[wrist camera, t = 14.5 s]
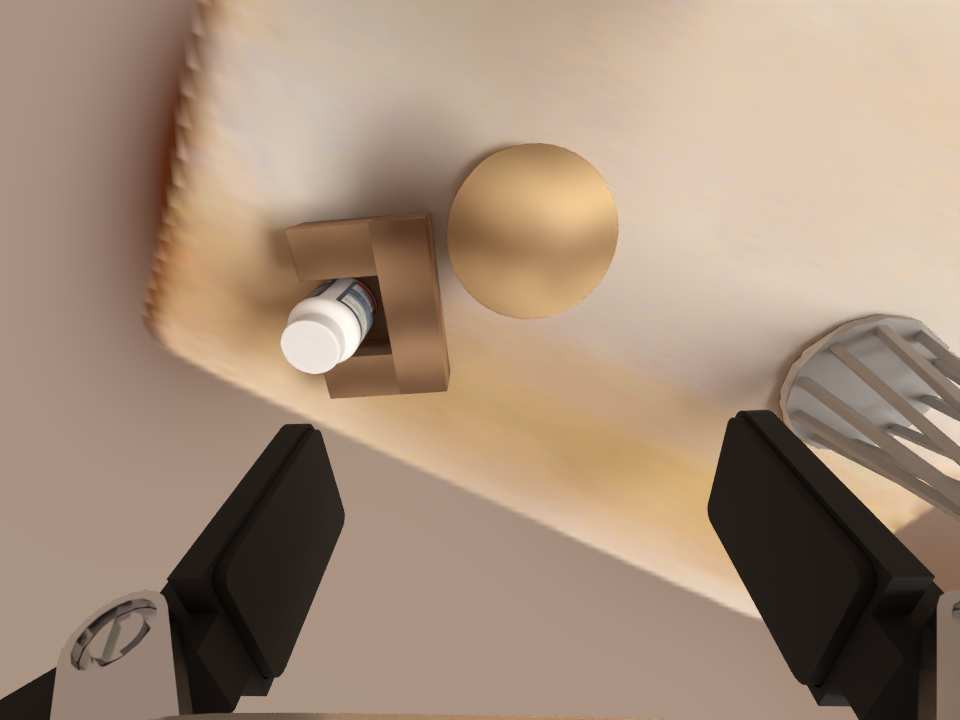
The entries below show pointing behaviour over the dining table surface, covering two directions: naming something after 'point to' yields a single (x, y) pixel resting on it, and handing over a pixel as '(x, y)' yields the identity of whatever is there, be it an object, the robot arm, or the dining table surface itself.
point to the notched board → (405, 294)
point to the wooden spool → (532, 231)
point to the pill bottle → (328, 325)
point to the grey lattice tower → (879, 401)
